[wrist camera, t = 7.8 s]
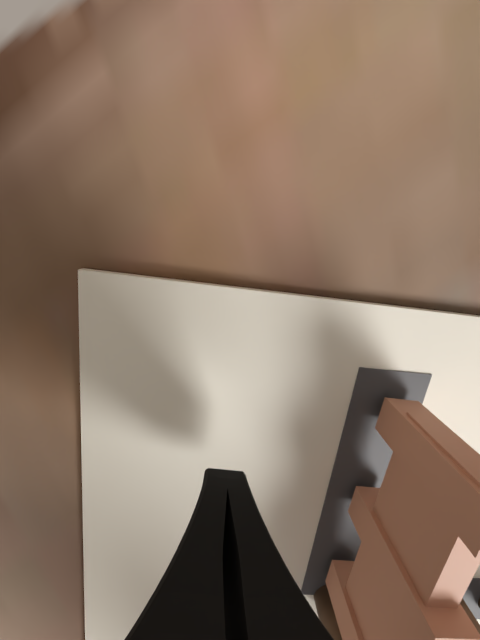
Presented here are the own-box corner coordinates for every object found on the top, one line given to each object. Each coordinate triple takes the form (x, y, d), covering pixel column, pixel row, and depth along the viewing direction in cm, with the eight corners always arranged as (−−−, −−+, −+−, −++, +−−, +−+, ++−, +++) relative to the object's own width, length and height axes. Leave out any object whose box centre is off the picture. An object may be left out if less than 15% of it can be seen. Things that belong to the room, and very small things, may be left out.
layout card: (460, 671, 18) (466, 682, 18) (89, 668, 16) (85, 680, 16) (636, 334, 12) (651, 337, 12) (82, 268, 10) (77, 269, 10)
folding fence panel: (352, 584, 14) (416, 758, 10) (324, 582, 14) (375, 758, 10) (418, 398, 12) (554, 514, 7) (385, 395, 12) (499, 509, 7)
